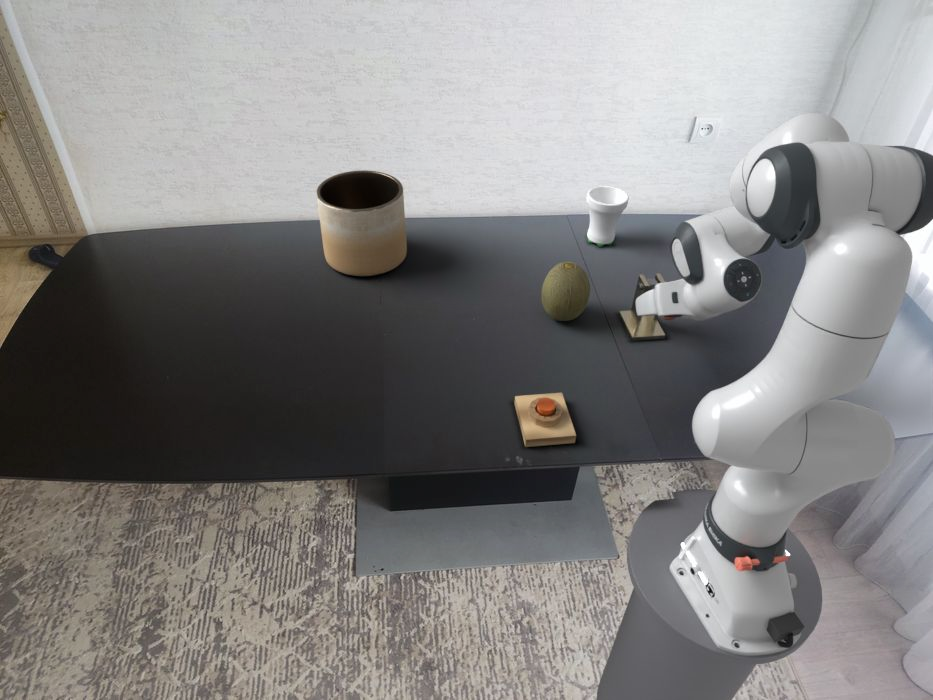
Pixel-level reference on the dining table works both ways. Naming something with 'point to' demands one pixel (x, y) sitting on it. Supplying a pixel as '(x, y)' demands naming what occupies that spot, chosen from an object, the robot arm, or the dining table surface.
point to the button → (545, 407)
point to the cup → (604, 213)
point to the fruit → (565, 291)
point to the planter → (362, 222)
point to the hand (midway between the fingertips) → (672, 308)
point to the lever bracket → (642, 325)
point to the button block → (544, 421)
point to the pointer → (652, 283)
